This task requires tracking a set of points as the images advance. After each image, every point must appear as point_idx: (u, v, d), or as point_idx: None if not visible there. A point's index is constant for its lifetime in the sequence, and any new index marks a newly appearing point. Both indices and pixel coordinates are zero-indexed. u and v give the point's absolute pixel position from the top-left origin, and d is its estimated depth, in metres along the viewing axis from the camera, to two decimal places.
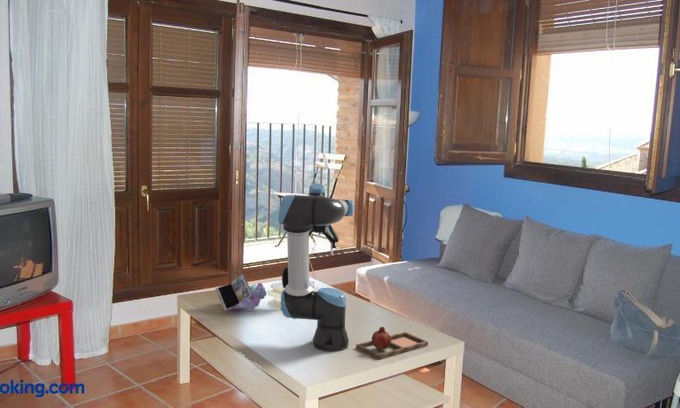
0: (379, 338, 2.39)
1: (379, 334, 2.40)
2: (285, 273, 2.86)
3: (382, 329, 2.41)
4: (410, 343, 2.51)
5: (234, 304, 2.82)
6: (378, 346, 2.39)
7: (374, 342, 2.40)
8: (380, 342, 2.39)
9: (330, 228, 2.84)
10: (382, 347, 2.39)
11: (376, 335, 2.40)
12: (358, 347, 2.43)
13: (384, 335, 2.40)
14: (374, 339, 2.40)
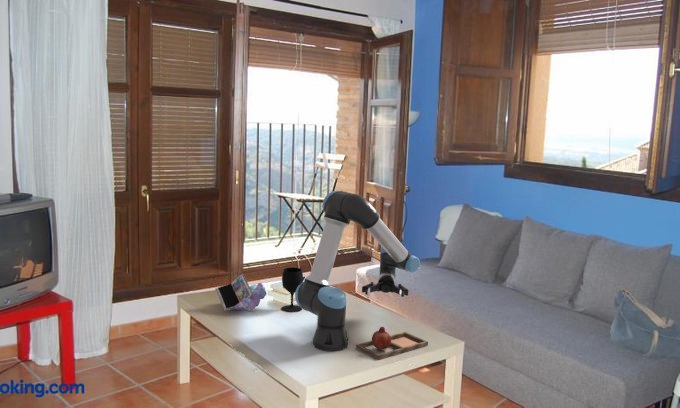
0: (379, 338, 2.39)
1: (379, 334, 2.40)
2: (285, 273, 2.86)
3: (382, 329, 2.41)
4: (410, 343, 2.51)
5: (234, 304, 2.82)
6: (378, 346, 2.39)
7: (374, 342, 2.40)
8: (380, 342, 2.39)
9: (400, 285, 2.64)
10: (382, 347, 2.39)
11: (376, 335, 2.40)
12: (358, 347, 2.43)
13: (384, 335, 2.40)
14: (374, 339, 2.40)
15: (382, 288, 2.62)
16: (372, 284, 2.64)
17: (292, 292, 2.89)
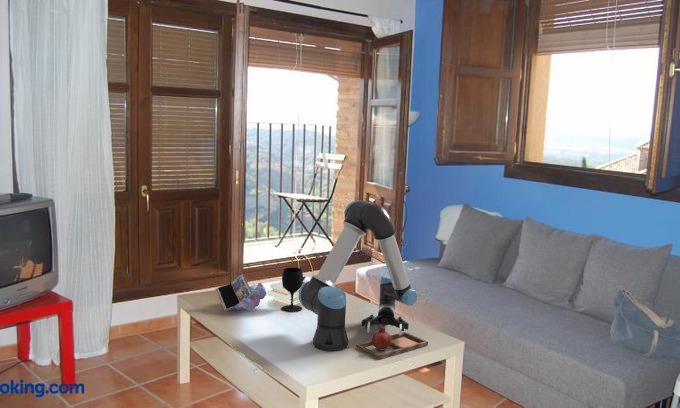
0: (379, 338, 2.39)
1: (379, 334, 2.40)
2: (285, 273, 2.86)
3: (382, 329, 2.41)
4: (410, 343, 2.51)
5: (234, 304, 2.82)
6: (378, 346, 2.39)
7: (374, 342, 2.40)
8: (380, 342, 2.39)
9: (400, 318, 2.61)
10: (382, 347, 2.39)
11: (376, 335, 2.40)
12: (358, 347, 2.43)
13: (384, 335, 2.40)
14: (374, 339, 2.40)
15: (382, 321, 2.59)
16: (372, 317, 2.62)
17: (292, 292, 2.89)
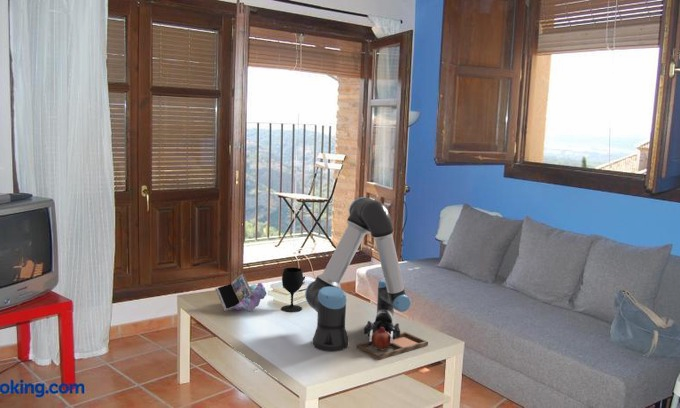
0: (379, 338, 2.39)
1: (379, 334, 2.40)
2: (285, 273, 2.86)
3: (382, 329, 2.41)
4: (410, 343, 2.51)
5: (234, 304, 2.82)
6: (378, 346, 2.39)
7: (374, 342, 2.40)
8: (380, 342, 2.39)
9: (397, 324, 2.52)
10: (382, 347, 2.39)
11: (376, 335, 2.40)
12: (358, 347, 2.43)
13: (384, 335, 2.40)
14: (374, 339, 2.40)
15: (379, 327, 2.51)
16: (370, 324, 2.52)
17: (292, 292, 2.89)
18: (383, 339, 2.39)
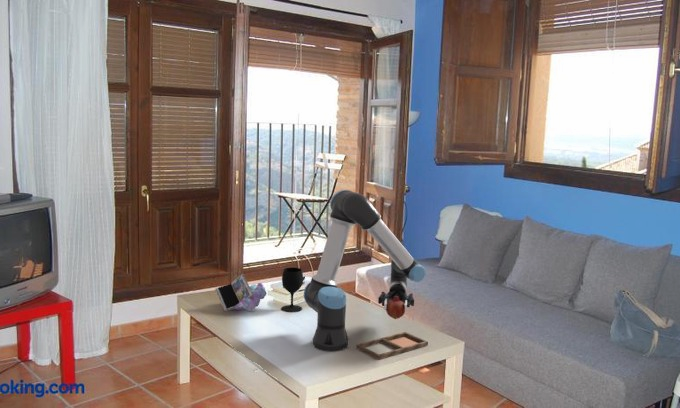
0: (393, 306, 2.41)
1: (393, 303, 2.42)
2: (285, 273, 2.86)
3: (396, 298, 2.43)
4: (410, 343, 2.51)
5: (234, 304, 2.82)
6: (392, 314, 2.42)
7: (388, 310, 2.42)
8: (394, 310, 2.41)
9: (411, 294, 2.54)
10: (396, 315, 2.42)
11: (391, 303, 2.42)
12: (358, 347, 2.43)
13: (398, 304, 2.42)
14: (388, 308, 2.42)
15: (393, 297, 2.53)
16: (384, 294, 2.55)
17: (292, 292, 2.89)
18: (397, 307, 2.41)
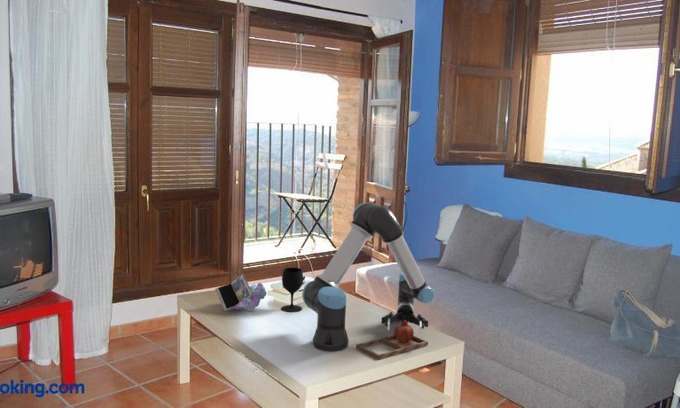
0: (402, 331, 2.47)
1: (402, 327, 2.48)
2: (285, 273, 2.86)
3: (405, 322, 2.49)
4: (410, 343, 2.51)
5: (234, 304, 2.82)
6: (401, 339, 2.47)
7: (397, 335, 2.48)
8: (403, 335, 2.47)
9: (419, 315, 2.60)
10: (405, 340, 2.47)
11: (399, 328, 2.48)
12: (358, 347, 2.43)
13: (407, 328, 2.48)
14: (397, 332, 2.48)
15: (401, 319, 2.59)
16: (391, 314, 2.61)
17: (292, 292, 2.89)
18: (406, 332, 2.47)
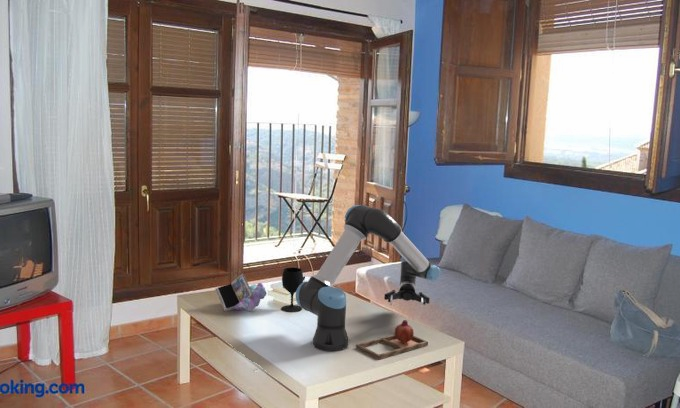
0: (402, 331, 2.47)
1: (402, 327, 2.48)
2: (285, 273, 2.86)
3: (405, 322, 2.49)
4: (410, 343, 2.51)
5: (234, 304, 2.82)
6: (401, 339, 2.47)
7: (397, 335, 2.48)
8: (403, 335, 2.47)
9: (421, 293, 2.73)
10: (405, 340, 2.47)
11: (399, 328, 2.48)
12: (358, 347, 2.43)
13: (407, 328, 2.48)
14: (397, 332, 2.48)
15: (404, 296, 2.71)
16: (394, 292, 2.73)
17: (292, 292, 2.89)
18: (406, 332, 2.47)
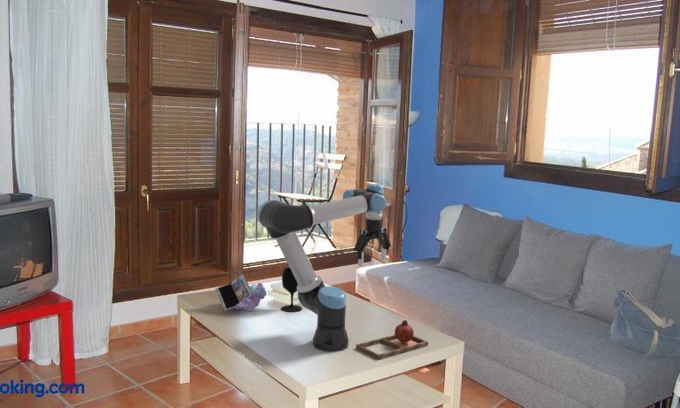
0: (402, 331, 2.47)
1: (402, 327, 2.48)
2: (285, 273, 2.86)
3: (405, 322, 2.49)
4: (410, 343, 2.51)
5: (234, 304, 2.82)
6: (401, 339, 2.47)
7: (397, 335, 2.48)
8: (403, 335, 2.47)
9: None
10: (405, 340, 2.47)
11: (399, 328, 2.48)
12: (358, 347, 2.43)
13: (407, 328, 2.48)
14: (397, 332, 2.48)
15: None
16: (381, 233, 2.72)
17: (292, 292, 2.89)
18: (406, 332, 2.47)
